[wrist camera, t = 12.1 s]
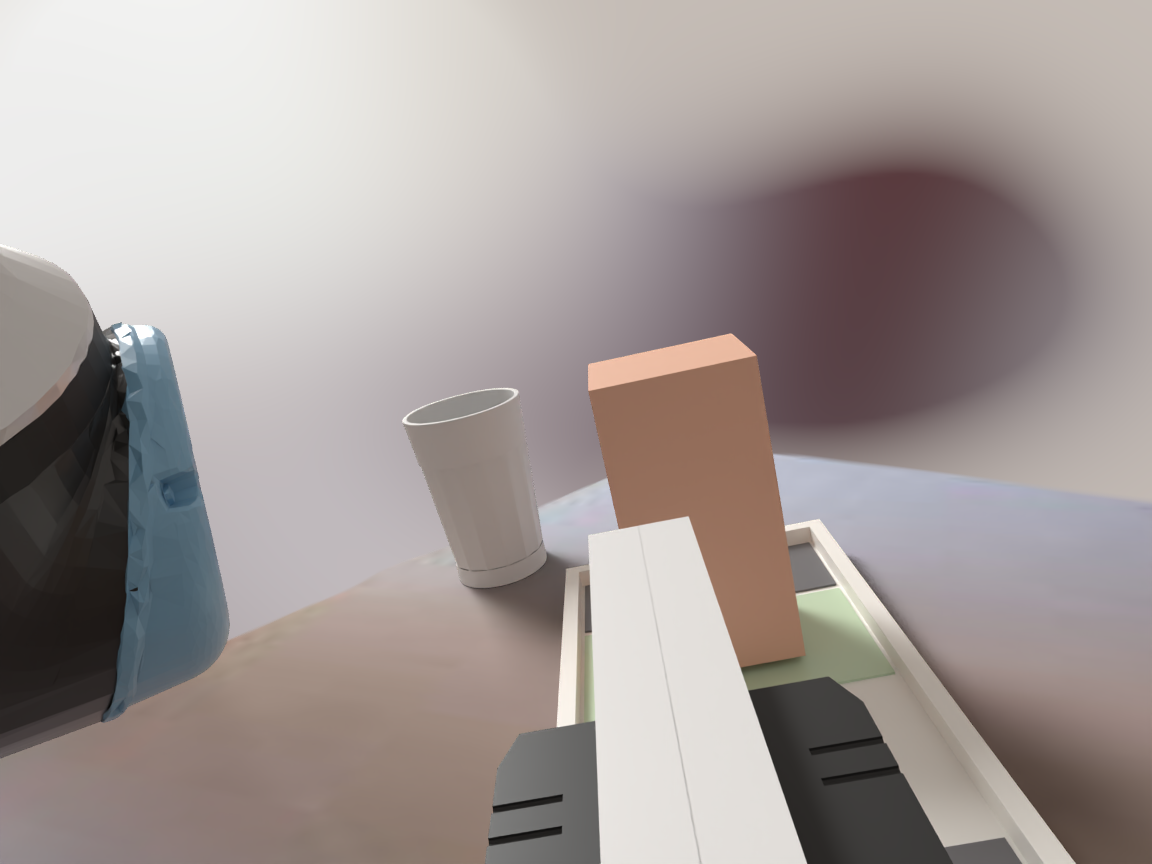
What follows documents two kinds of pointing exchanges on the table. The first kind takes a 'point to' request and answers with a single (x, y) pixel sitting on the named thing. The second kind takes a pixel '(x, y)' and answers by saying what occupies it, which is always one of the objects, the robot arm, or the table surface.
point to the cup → (481, 483)
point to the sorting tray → (865, 702)
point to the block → (704, 477)
